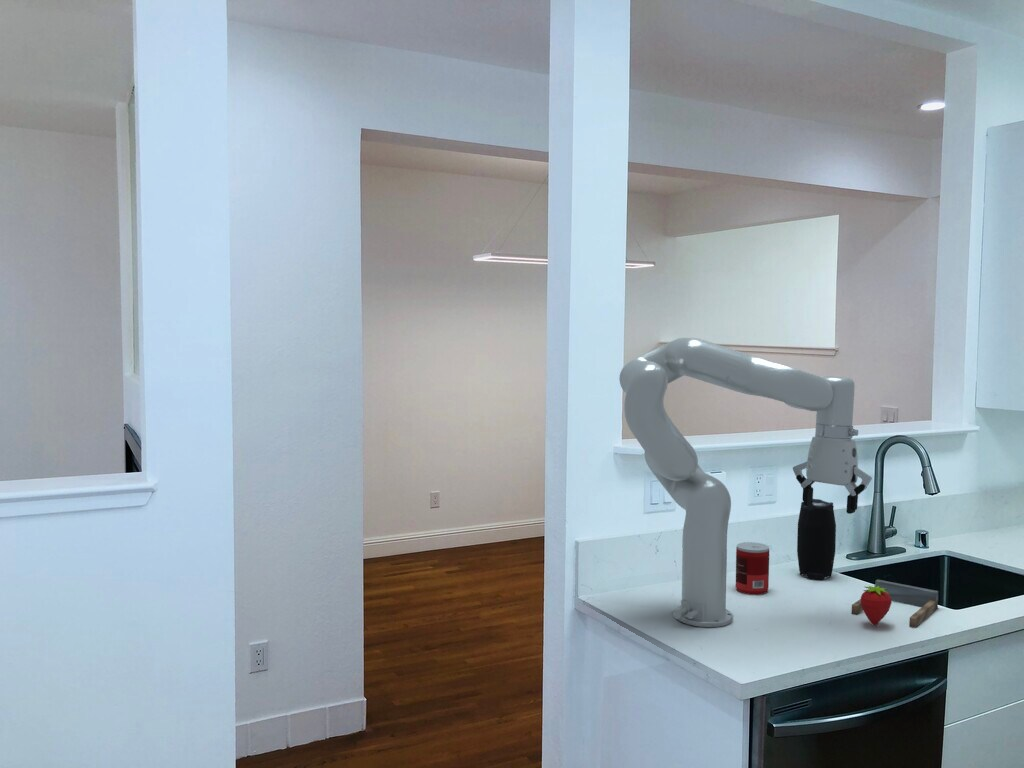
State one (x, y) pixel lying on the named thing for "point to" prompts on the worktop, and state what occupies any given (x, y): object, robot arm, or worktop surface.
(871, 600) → the strawberry
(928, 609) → the frame
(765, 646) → the worktop surface
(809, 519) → the portable speaker
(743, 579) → the canned food
